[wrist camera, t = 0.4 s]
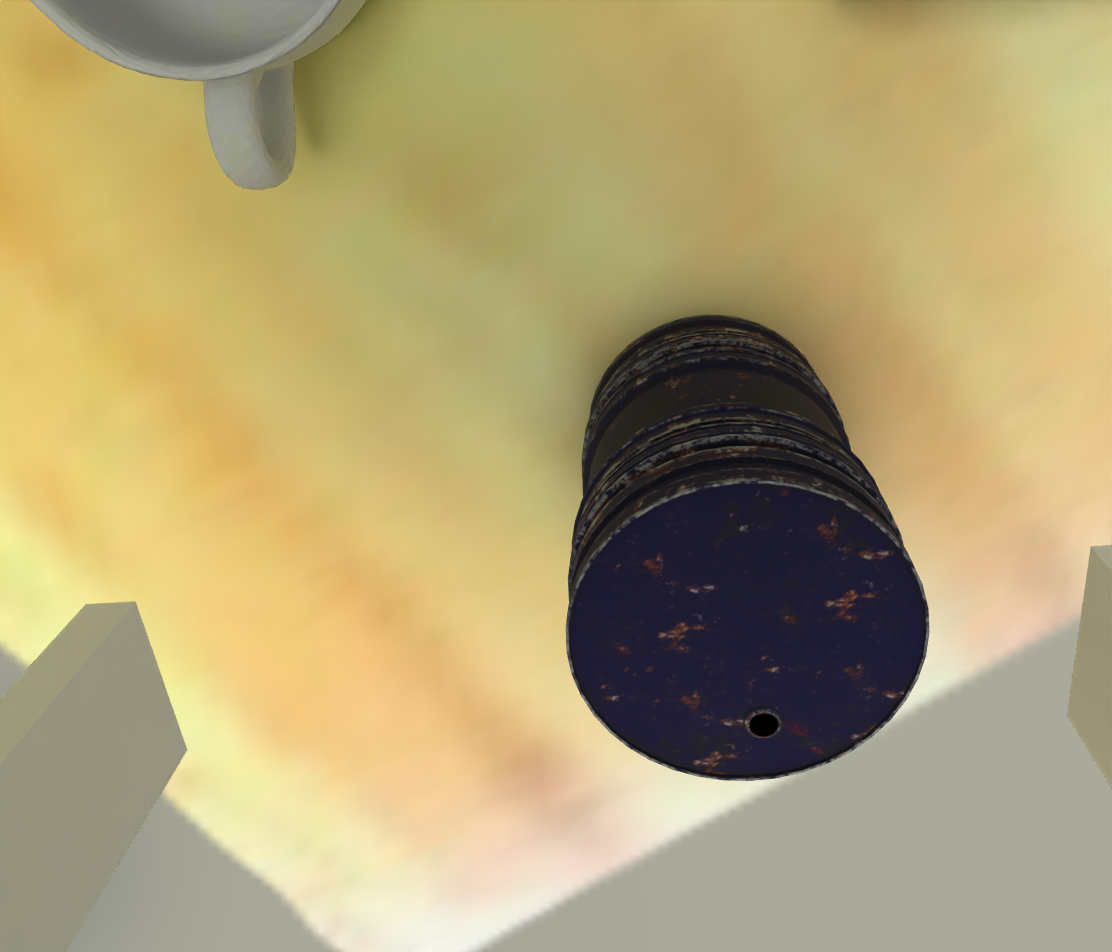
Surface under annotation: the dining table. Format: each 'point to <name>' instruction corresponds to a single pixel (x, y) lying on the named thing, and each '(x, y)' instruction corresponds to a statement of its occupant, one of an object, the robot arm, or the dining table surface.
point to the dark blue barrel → (735, 562)
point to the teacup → (218, 63)
